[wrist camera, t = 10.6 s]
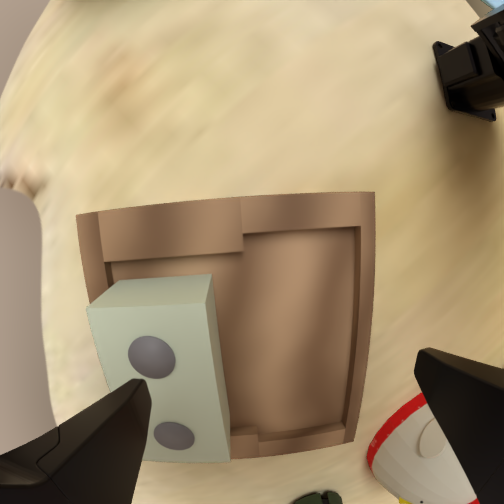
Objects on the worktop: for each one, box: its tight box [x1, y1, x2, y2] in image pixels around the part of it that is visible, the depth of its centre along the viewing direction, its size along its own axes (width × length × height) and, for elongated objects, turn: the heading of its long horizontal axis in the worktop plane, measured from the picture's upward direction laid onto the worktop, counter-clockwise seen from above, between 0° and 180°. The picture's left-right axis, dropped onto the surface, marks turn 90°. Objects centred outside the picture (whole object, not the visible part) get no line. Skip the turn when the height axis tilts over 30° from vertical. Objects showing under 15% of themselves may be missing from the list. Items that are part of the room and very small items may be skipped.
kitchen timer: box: [367, 393, 479, 504], centre depth 17 cm, size 14×14×15 cm
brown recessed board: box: [76, 192, 375, 459], centre depth 19 cm, size 18×20×2 cm
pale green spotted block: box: [86, 274, 231, 463], centre depth 16 cm, size 6×11×5 cm, turn 4°
